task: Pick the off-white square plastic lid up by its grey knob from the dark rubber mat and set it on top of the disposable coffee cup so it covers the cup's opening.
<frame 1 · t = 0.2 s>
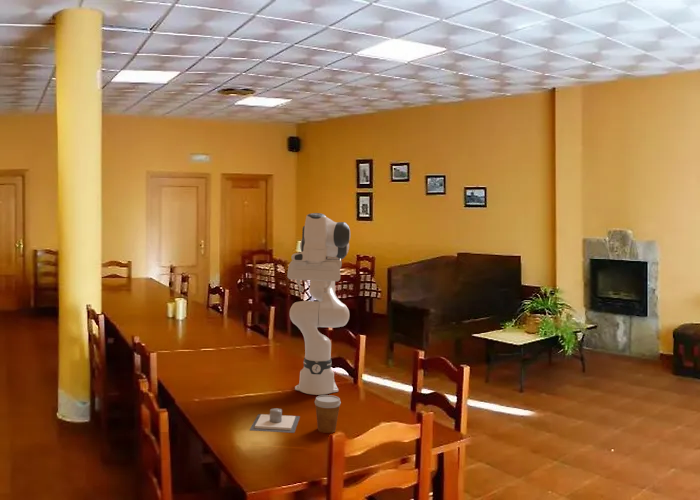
hand: (313, 292, 255), 47 cm above the table, tool pointing down, fingers open, 8 cm apart
disposable coffee cup: (326, 431, 240), on the table
lid: (275, 423, 244), point 1 cm above the table, touching mat
mat: (275, 424, 244), on the table
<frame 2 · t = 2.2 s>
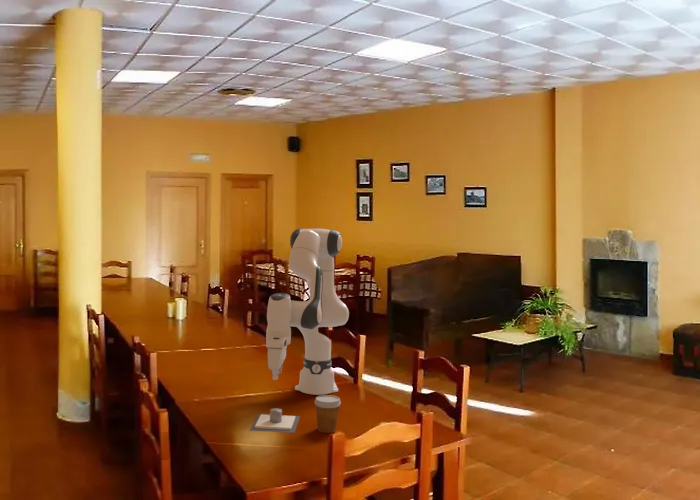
hand: (277, 376, 243), 18 cm above the table, tool pointing down, fingers open, 8 cm apart
nothing on the table moved.
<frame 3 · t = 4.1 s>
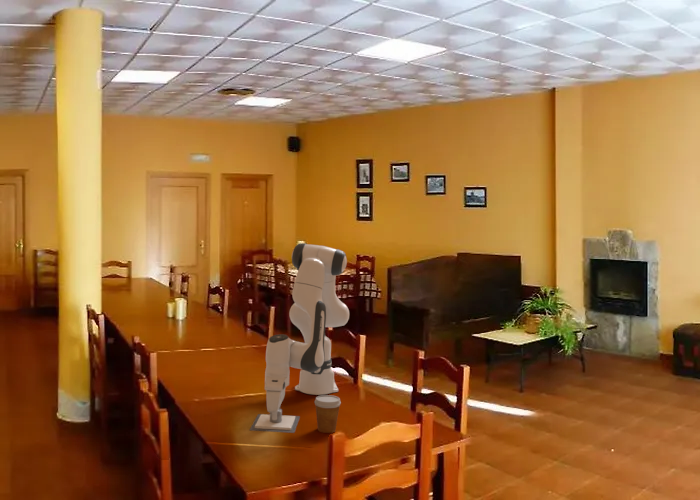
hand: (275, 416, 244), 3 cm above the table, tool pointing down, fingers closed on lid, 4 cm apart
lid: (275, 423, 244), point 1 cm above the table, touching gripper, mat
everything else where it was.
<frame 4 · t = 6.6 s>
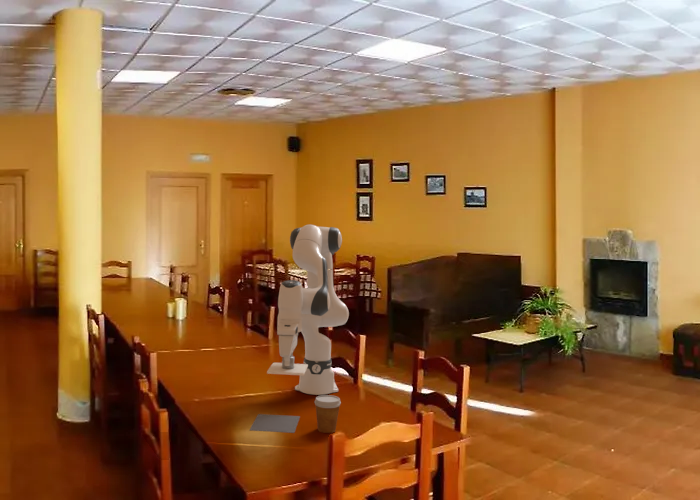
hand: (288, 363, 242), 23 cm above the table, tool pointing down, fingers closed on lid, 4 cm apart
lid: (287, 369, 242), point 21 cm above the table, touching gripper
everything else where it was.
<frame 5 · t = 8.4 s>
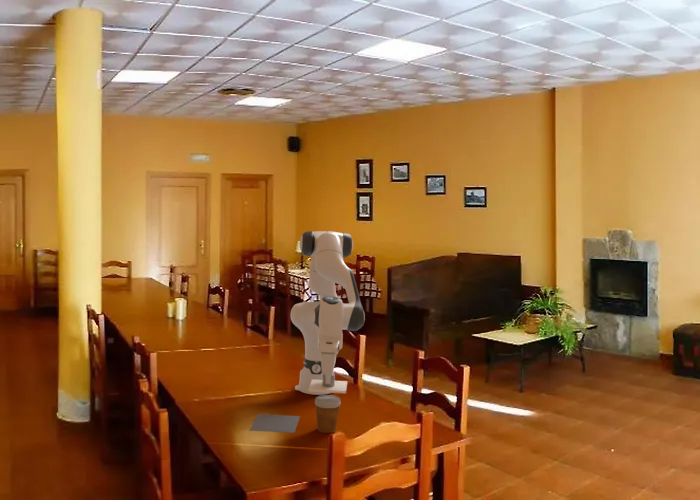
hand: (328, 381, 238), 18 cm above the table, tool pointing down, fingers closed on lid, 4 cm apart
lid: (328, 387, 239), point 16 cm above the table, touching gripper
everything else where it was.
when the fingers open (16 cm above the table, at t = 9.5 s): lid drops 2 cm, resting on disposable coffee cup.
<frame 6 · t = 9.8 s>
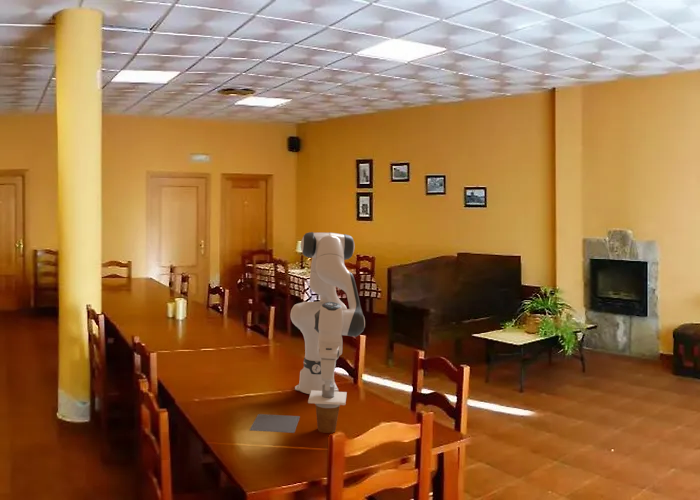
hand: (328, 386, 239), 16 cm above the table, tool pointing down, fingers open, 7 cm apart
disposable coffee cup: (326, 431, 240), on the table, touching lid
lid: (327, 398, 239), point 12 cm above the table, touching disposable coffee cup
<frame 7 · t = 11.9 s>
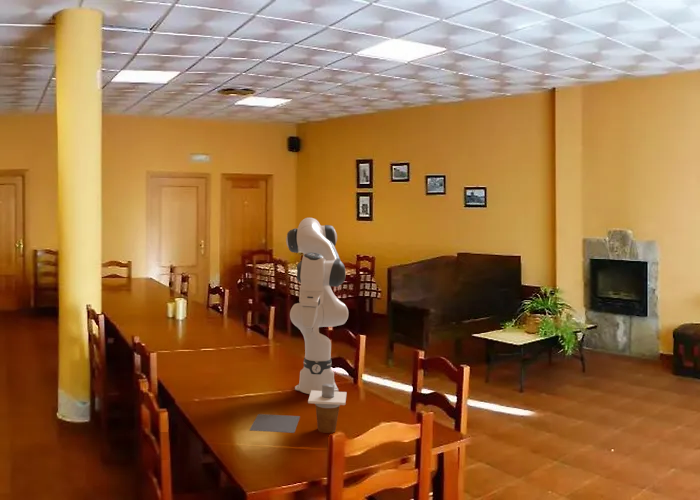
hand: (309, 334, 246), 33 cm above the table, tool pointing down, fingers open, 8 cm apart
nothing on the table moved.
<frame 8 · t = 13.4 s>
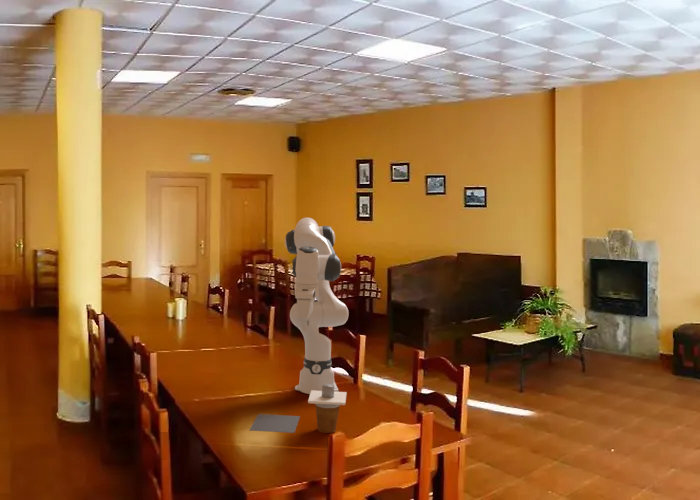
hand: (305, 328, 247), 35 cm above the table, tool pointing down, fingers open, 8 cm apart
nothing on the table moved.
at the end: lid 0.0 cm from the disposable coffee cup (horizontally); lid point 12.0 cm above the table; the gripper is holding nothing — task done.
